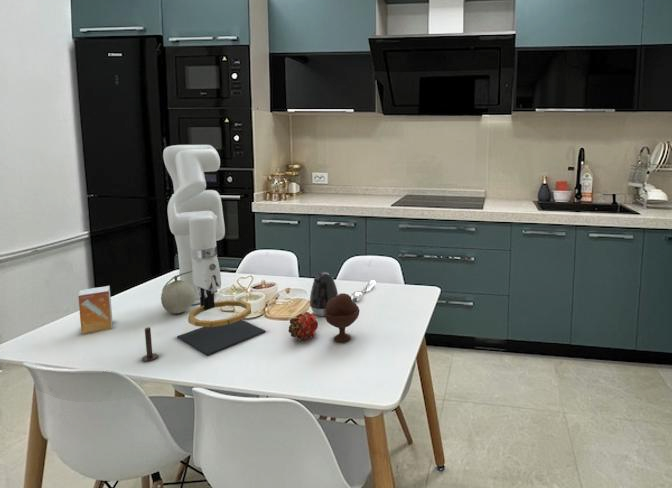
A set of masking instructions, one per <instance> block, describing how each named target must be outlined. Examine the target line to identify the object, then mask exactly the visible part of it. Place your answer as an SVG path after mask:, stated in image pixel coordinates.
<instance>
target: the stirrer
mask: <svg viewBox="0 0 672 488" xmlns="http://www.w3.org/2000/svg"><path fill="white" fill-rule="evenodd" d="M376 283H377V282H376V281H375V280H369V281H368V282H367V284H366V286H365V289H364V290H362V291H360V290H357V291H354V292H353V293H351V295H350V297H351V298H352V302H354V303H357V302H359V301H360V300H361V299H362V298H363V296H364V293H367V292H370V291H371V290H372V289H373V288H374V287H375V286H376Z"/></svg>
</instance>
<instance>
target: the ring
mask: <svg viewBox="0 0 672 488" xmlns="http://www.w3.org/2000/svg"><path fill="white" fill-rule="evenodd" d="M214 305H215V306H214V308H221V307H228V306H229V307H241V308H243V309H245V310H243V311H242V312H241V313H239V314H236V315H233V316H230V317H227V318H222V319H221V318H220V319H216V320H205V319H203V320H202V319H201V320H200V319H198V318H196V317H197V316H198V315H200V314H201V313H203V312H205V311H209V310H212V309H214V308H211V309H207V310H205V309H204V305H203V306H201V305H200V306H198V307H196V308H195V309H193V310H191V311H190V312H189V313H188V317H187V320H188V324H191V325H192V326H194V327H198V328H202V327H211V326H212V327H216V326H222V325H228V324H231V323H234V322H237V321H240V320H245V318H247V317H249V316H250V315H251V314H252V305H251V303H249V302H246V301H245V300H235V299H234V300H233V299H230V300H228V299H227V300H222V301H214Z"/></svg>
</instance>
